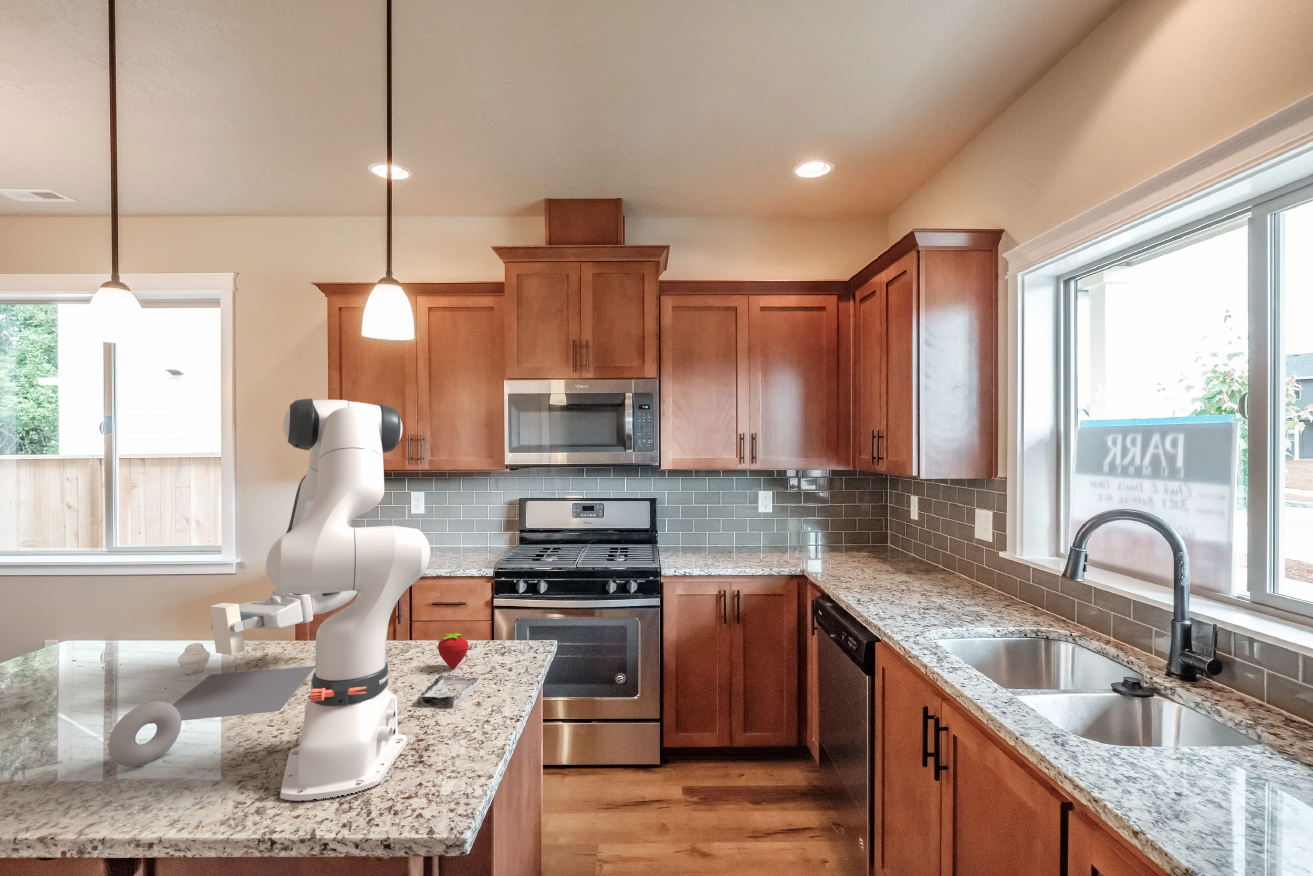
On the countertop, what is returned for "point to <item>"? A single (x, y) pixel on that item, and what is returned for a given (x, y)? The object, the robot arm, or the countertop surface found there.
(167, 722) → the donut
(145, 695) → the countertop surface
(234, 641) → the card box
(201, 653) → the muffin
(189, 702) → the mat
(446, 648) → the strawberry
